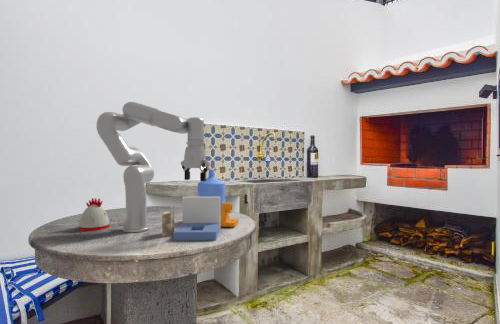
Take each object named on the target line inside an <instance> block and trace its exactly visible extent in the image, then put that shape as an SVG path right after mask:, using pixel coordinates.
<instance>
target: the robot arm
mask: <svg viewBox="0 0 500 324" xmlns="http://www.w3.org/2000/svg"><path fill="white" fill-rule="evenodd" d="M141 123H143V124H145V125H149V126H151V127H157V128H159V129H162V130H165V131H166V130H167V131H168V132H172V133H177V134H183V135H184V134H185V135H186V134H187V141H186V145H187V146H186V147H185V150H184V156H183V157H184V158H183V160H182V161H180V165H181V167H182V170H183V172H184V181H189V180H190V179H191V169H199V170H200V173H199V175H200V176H199V179H200V181H199V182H201V181H206V179H207V177H206V176H207V172H208V171H209V170H210V166H211V162H210V161H208V160H207V157H206V156H207V155H206V149H205V147H204V143H205V142H204V139H205V137H204V136H205V120H204V119H203V118H202V117H195V116H194V117H189V118H185V117H182V116H179V115H175V114H173V113H169V112H165V111H162V110H159V109H158V108H155V107H152V106H149V105H144V104H142V103H138V102H136V101H128V102H126V103H124V105H123V106H122V114H121V113H117V112H113V111H106V112H103V113H101V114H100V115H99V116H98V118H97V120H96V132H97V135H99V138H100V139H101V141H102V142H103V143H104V145H105V146H106V148H107V150H108V151H109V153H110V154H111V156H112V157H113V159H114V161H115V162H116V163H117V165H119V166H121V167H126V168H125V170H124V172H123V176H122V177H123V183H124V190H125V220H124V221H122V220H120V221H117V225H118V226H119V227H122V232H125V233H141V232H146V231H149V230H150V229H151V226H150V224H148V222H147V219H148V218H147V189H146V186H145V184H146V183H149V182H151V181H153V179H154V176H155V170H154V169H153V167H152V165H151V164H150V162H149V160H148V159H147V158H146V155H144V153H143V152H142V151H141V150H140V149H139V148H137V147H134V146H132V147H131V146H129V145H128V144H127V142H126V141H125V139H124V138H123V136H122V135H121V134H119V132H123V131H124V132H125V131H128V130H130V129H132V128H133V127H135V126H138V125H140V124H141ZM118 131H119V132H118Z"/></svg>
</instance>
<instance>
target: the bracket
mask: <svg viewBox="0 0 500 324" xmlns="http://www.w3.org/2000/svg"><path fill="white" fill-rule="evenodd" d="M233 207H234V206H233V202H230V201H229V202H226V201H225V202H222V205H221V214H220V228H221V227H222V228H236V226H238V224H239V218H233V217H232V218H231V217H230V214H232V213H233V209H234V208H233Z"/></svg>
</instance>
